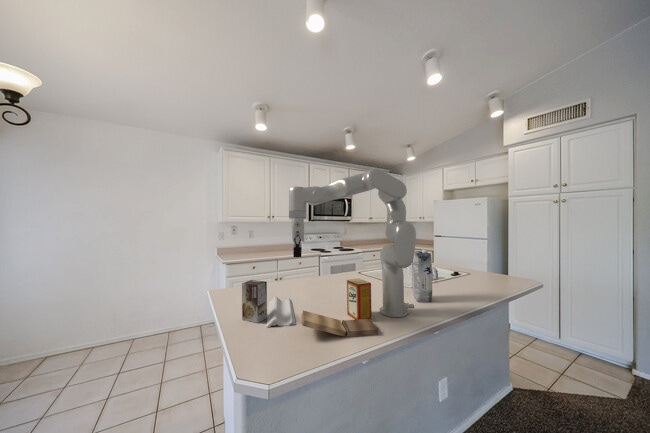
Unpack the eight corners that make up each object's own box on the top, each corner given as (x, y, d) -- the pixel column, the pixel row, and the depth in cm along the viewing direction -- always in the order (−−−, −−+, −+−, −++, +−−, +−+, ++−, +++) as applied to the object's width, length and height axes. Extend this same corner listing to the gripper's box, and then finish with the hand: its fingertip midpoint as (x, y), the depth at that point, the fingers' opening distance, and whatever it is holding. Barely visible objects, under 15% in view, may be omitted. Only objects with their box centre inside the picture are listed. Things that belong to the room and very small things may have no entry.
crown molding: (295, 326, 98) (295, 317, 99) (265, 329, 96) (265, 320, 96) (291, 302, 129) (291, 295, 129) (268, 303, 127) (268, 297, 127)
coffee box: (267, 317, 106) (267, 281, 107) (257, 323, 100) (257, 284, 101) (251, 314, 110) (251, 279, 111) (241, 320, 104) (241, 282, 105)
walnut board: (369, 323, 99) (369, 318, 99) (377, 334, 89) (377, 328, 89) (341, 325, 97) (341, 320, 97) (347, 337, 87) (347, 330, 88)
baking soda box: (347, 314, 110) (346, 279, 110) (359, 312, 112) (358, 277, 113) (358, 321, 101) (358, 283, 101) (371, 319, 104) (370, 282, 104)
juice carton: (415, 302, 124) (414, 250, 125) (411, 296, 135) (410, 248, 136) (433, 303, 123) (432, 250, 124) (428, 297, 133) (427, 248, 134)
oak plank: (338, 325, 97) (340, 320, 97) (344, 336, 87) (345, 331, 87) (301, 315, 95) (302, 310, 95) (302, 325, 85) (304, 320, 86)
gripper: (307, 214, 95) (306, 258, 94) (305, 216, 112) (305, 253, 111) (288, 214, 94) (287, 258, 93) (289, 216, 111) (289, 253, 110)
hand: (297, 255), depth 102 cm, fingers open, 9 cm apart
